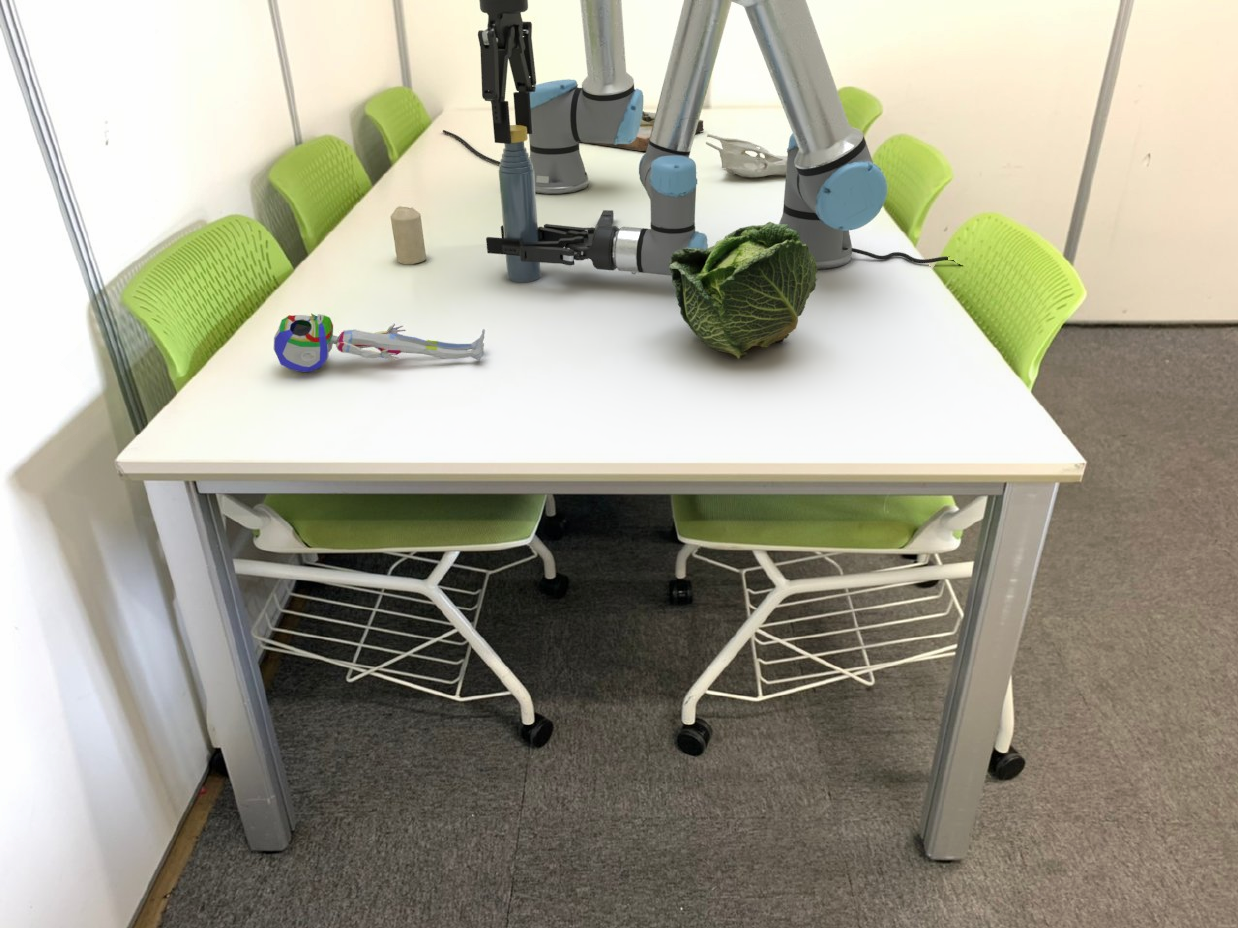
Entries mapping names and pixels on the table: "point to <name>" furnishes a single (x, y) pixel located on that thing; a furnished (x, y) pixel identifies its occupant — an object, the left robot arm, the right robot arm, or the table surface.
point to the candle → (408, 235)
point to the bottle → (519, 208)
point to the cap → (518, 133)
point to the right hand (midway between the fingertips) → (495, 239)
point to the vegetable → (744, 287)
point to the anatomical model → (748, 158)
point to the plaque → (645, 133)
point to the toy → (354, 343)
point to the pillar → (606, 218)
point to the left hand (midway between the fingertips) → (513, 137)
